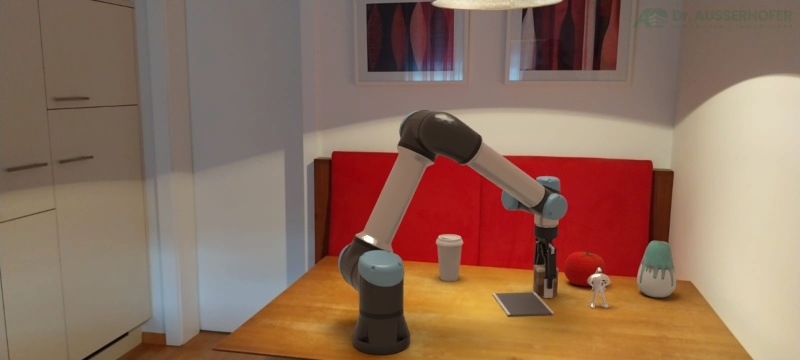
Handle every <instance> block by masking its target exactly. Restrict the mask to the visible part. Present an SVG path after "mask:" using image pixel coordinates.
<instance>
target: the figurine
mask: <svg viewBox="0 0 800 360" xmlns="http://www.w3.org/2000/svg"><path fill="white" fill-rule="evenodd" d="M592 281H593V284H592ZM587 282H588V284H589V285H590V286H591V287H592V288H591V289H590V290H589V291H593V294H592V299H591V302H589V304H588V307H589V308H590V309H595V308H596V304H595V301H596V298H597V295H598V294H599V293H600V297H601V302H600V304H599V305H600V307H602V308H604V309H605V308H606V309H608V308H609V304H608V303H606V300H605V291H607V289H606V286H608V285H610V284H611V279H610V277H609V276H608V275H607V274H606V273H605V274H602V270H601V268H597V270H596V273H595V274H593V275H591V276H590V277H589V278H588V280H587Z"/></svg>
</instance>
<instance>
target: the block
mask: <svg viewBox="0 0 800 360" xmlns="http://www.w3.org/2000/svg"><path fill="white" fill-rule="evenodd" d="M556 270H557V278H556V279H553V297H555V296H556V297H557V296H558V283H559V268H558V267H557V266H556ZM544 277H546V274H545V264H544V265H533V282H532V283H533V285H532V292H535V293H536V294H537V295H538V296H539V297H544Z"/></svg>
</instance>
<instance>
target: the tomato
mask: <svg viewBox="0 0 800 360" xmlns="http://www.w3.org/2000/svg"><path fill="white" fill-rule="evenodd" d="M597 268H601V270H602V274H605V275H606V262H605V261H604V259H603V258H602V256H600V254H596V253H593V252H592V253H591V252H588V251H574V252H572V253H571V254H569V255H568V257H567V258H566V259H565V262H564V266H563V271H564V275H565V278H566V279H567V281H568V282H570V283H571V284H573V285H575V286H580V287H588V286H591V285H589V284H588V282H587V280H588V278H589V277H590V276H591V275H593V274H595V273H596V270H597ZM592 284H593V281H592ZM593 285H594V284H593Z"/></svg>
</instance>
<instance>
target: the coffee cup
mask: <svg viewBox="0 0 800 360" xmlns="http://www.w3.org/2000/svg"><path fill="white" fill-rule="evenodd" d="M463 244H464V241H463V239H462V236H461V235H457V234H452V233H451V234H450V233H448V234H445V233H444V234H439V235H438V237H437V238H436V241H435V245H437V257H438V260H437V261H438V272H439V279H440V280H441V281H443V282H455V281H458V280H459V276H460V275H459V274H460V265H461V257H462V246H463Z"/></svg>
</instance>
